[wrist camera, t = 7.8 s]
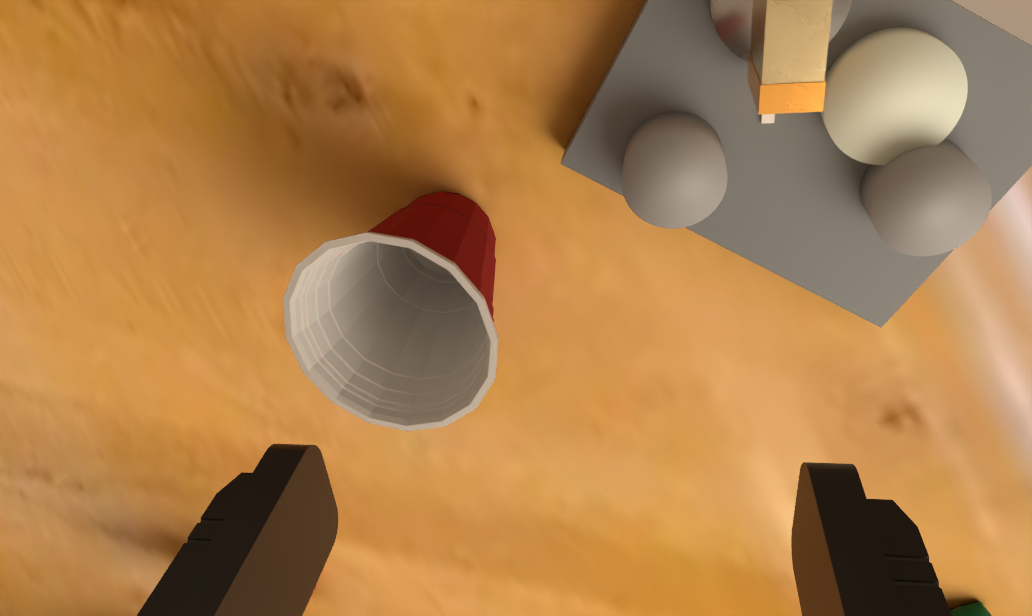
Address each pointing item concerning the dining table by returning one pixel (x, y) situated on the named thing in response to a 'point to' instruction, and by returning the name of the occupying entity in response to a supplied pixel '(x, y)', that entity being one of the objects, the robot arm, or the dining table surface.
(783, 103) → the wing knob
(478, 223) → the plastic cup
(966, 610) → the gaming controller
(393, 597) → the dining table surface
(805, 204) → the base
